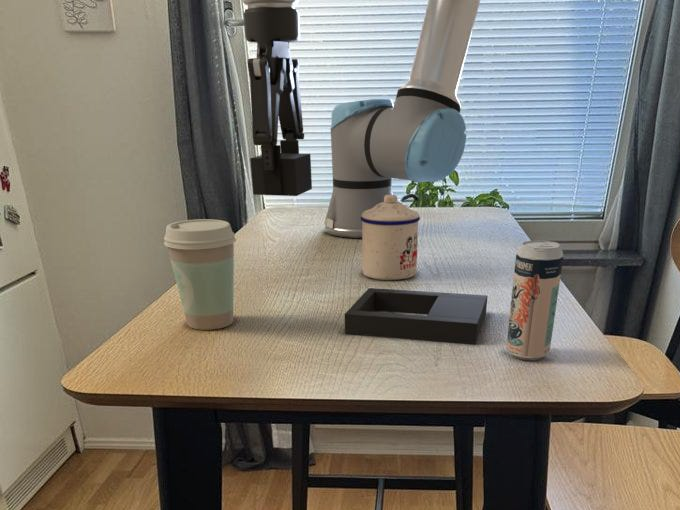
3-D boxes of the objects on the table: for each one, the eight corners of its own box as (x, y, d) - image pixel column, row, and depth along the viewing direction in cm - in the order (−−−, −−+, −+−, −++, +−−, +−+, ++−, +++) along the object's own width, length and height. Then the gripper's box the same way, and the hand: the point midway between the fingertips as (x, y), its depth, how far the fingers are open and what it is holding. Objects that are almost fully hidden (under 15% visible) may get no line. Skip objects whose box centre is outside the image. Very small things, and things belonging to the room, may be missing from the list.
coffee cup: (186, 312, 90) (172, 218, 84) (249, 312, 90) (240, 218, 83) (168, 333, 82) (152, 232, 76) (237, 334, 82) (226, 231, 76)
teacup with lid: (410, 283, 102) (413, 201, 96) (353, 279, 104) (352, 198, 98) (427, 264, 112) (430, 189, 106) (374, 261, 114) (374, 187, 108)
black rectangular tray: (368, 305, 92) (368, 287, 91) (485, 314, 88) (487, 295, 87) (344, 333, 82) (344, 313, 81) (475, 344, 78) (477, 323, 77)
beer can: (500, 348, 77) (512, 240, 71) (540, 346, 78) (555, 238, 71) (512, 363, 73) (525, 250, 67) (554, 361, 74) (571, 248, 67)
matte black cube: (270, 187, 106) (267, 153, 104) (312, 189, 105) (310, 153, 102) (253, 194, 101) (249, 158, 98) (296, 196, 99) (294, 159, 96)
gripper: (272, 13, 100) (283, 180, 112) (212, 2, 83) (233, 200, 95) (320, 11, 98) (326, 181, 110) (269, 0, 82) (283, 201, 94)
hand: (283, 189), depth 103 cm, fingers closed on matte black cube, 7 cm apart
